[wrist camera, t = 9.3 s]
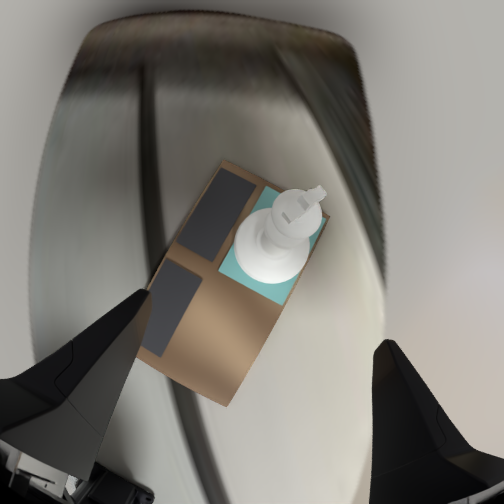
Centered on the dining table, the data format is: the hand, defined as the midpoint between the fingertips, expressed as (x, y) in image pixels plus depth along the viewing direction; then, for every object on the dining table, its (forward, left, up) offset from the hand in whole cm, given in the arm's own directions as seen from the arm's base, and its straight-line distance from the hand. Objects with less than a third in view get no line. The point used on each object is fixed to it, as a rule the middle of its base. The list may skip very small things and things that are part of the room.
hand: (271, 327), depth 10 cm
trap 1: (+4, +5, -8) cm, 11 cm away
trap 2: (-3, +5, -9) cm, 10 cm away
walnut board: (+1, +3, -9) cm, 10 cm away
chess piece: (+4, +1, -8) cm, 10 cm away
